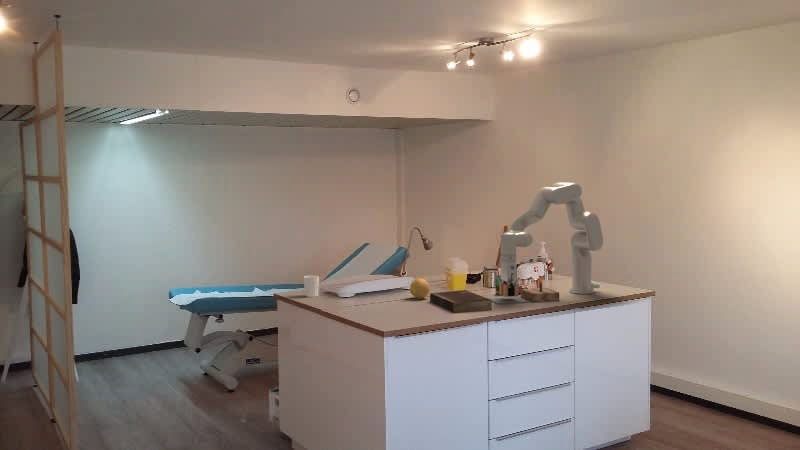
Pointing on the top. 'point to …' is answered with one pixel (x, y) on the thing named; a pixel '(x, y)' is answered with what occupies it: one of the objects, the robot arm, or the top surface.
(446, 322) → the top surface
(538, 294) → the stand
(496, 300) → the mat
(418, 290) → the stress ball
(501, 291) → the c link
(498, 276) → the food container
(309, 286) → the white cup
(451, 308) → the hardback book
